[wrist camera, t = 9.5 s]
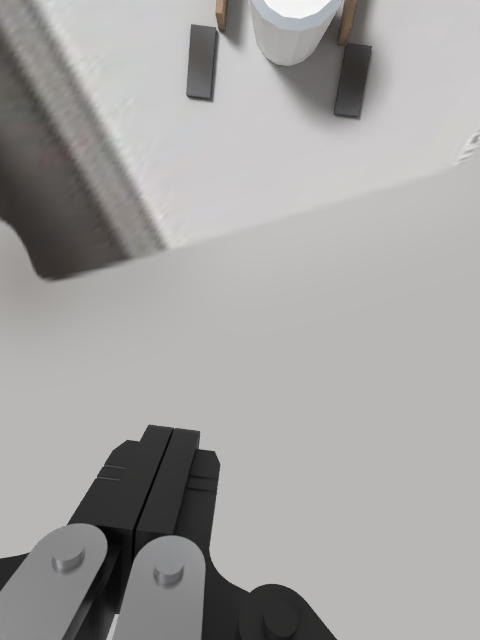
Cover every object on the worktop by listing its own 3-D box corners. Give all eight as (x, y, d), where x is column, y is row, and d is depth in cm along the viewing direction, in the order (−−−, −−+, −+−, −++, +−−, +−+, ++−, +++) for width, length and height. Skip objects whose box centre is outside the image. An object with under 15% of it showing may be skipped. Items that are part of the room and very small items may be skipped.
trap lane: (357, 117, 30) (366, 107, 27) (187, 96, 30) (181, 85, 27) (389, -51, 27) (402, -78, 24) (199, -74, 27) (193, -103, 24)
